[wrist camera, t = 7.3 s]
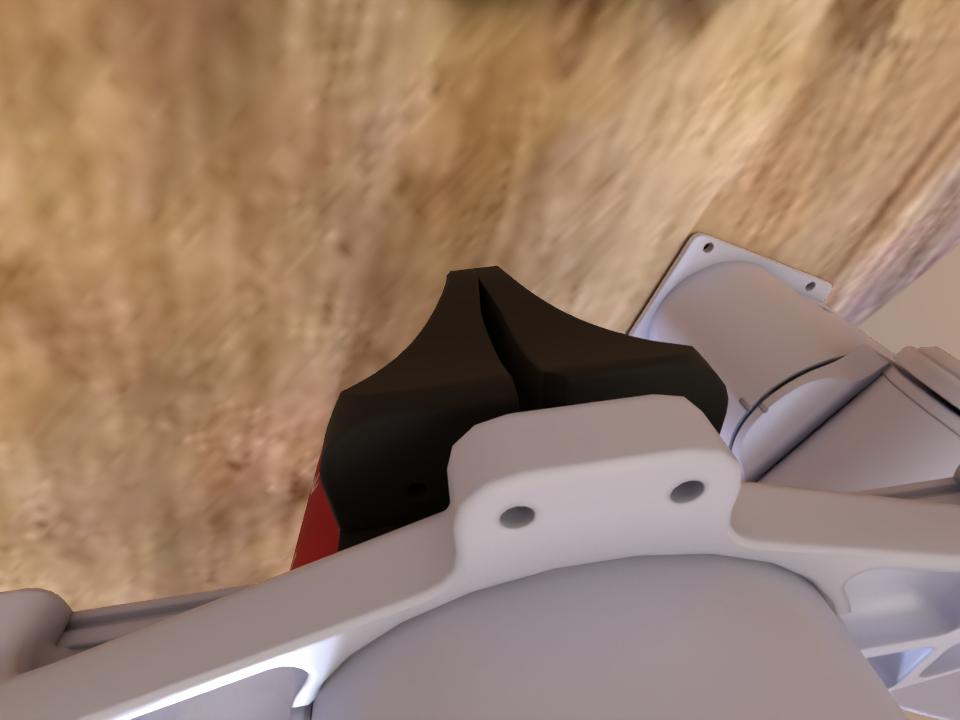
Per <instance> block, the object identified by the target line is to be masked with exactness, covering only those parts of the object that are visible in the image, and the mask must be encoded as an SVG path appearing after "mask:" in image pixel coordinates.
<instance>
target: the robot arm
mask: <svg viewBox="0 0 960 720" xmlns="http://www.w3.org/2000/svg"><path fill="white" fill-rule="evenodd" d="M708 243H710V244H709V247H708V248H707V249H704V250H703V248H704V246H705V245H706V244H708ZM809 283H810V284H809ZM808 284H809V285H808ZM807 285H808V286H807ZM806 286H807V287H806ZM831 290H832V285H831V284H830V283H829V282H827V281H825V280H823V279H820V278H818V277H815V276H813V275H810V274H807V273H805V272H802V271H800V270H797V269H795V268H792V267H789V266H787V265H784V264H782V263H779V262H777V261H774V260H771V259H769V258H766V257H764V256H761V255H759V254H756V253H753V252H751V251H748V250H746V249H743V248H741V247H738V246H735V245H733V244H730V243H728V242H725V241H723V240H720V239H717V238H715V237H712V236H710V235H707V234H705V233H700V232H699V233H696V234H694V235H692V236H691V237H690V239H689V240H688V242H687V243H686V245H685V246H684V248H683V249H682V251H681V252H680V254H679V256H678V257H677V259H676V260H675V262H674V263H673V265H672V267H671V268H670V270H669V271H668V273H667V274H666V276H665V277H664V279H663V281H662V282H661V284H660V285H659V287H658V288H657V290H656V292H655V293H654V295H653V296H652V298H651V299H650V301H649V302H648V304H647V306H646V307H645V309H644V310H643V312H642V313H641V315H640V317H639V318H638V320H637V321H636V323H635V324H634V326H633V327H632V329H631V331H630V332H629V334H628V335H625V334H621V333H618V332H614V331H611V330H608V329H605V328H602V327H599V326H596V325H593V324H590V323H588V322H585V321H582V320H580V319H578V318H576V317H574V316H572V315H569V314H567V313H565V312H563V311H561V310H559V309H557V308H556V307H554V306H552V305H550V304H549V303H547V302H545V301H544V300H542V299H541V298H539V297H538V296H536V295H535V294H533V293H532V292H530V291H529V290H527V289H526V288H525V287H523V286H522V285H521V284H519V283H518V282H517V281H516V280H514V279H513V278H512V277H510V276H509V275H508V274H507V273H506V272H504V271H503V270H502V269H501V268H499V267H498V266H492V267H483V268H475V269H466V270H457V271H450V272H449V274H448V275H447V279H446V284H445V287H444V290H443V293H442V295H441V297H440V299H439V302H438V304H437V306H436V308H435V310H434V312H433V313H432V315H431V317H430V318H429V320H428V322H427V323H426V325H425V326H424V328H423V329H422V331H421V332H420V333H419V335H418V336H417V337H416V338H415V339H414V341H413V342H412V343H411V344H410V345H409V346H408V347H407V348H406V349H405V350H404V351H403V352H402V353H401V354H400V355H399V356H398V357H397V358H395V359H394V360H393V361H392V362H390V363H389V364H388V365H386V366H385V367H384V368H382V369H381V370H379V371H378V372H376V373H375V374H373V375H372V376H370V377H368V378H367V379H365V380H363V381H361V382H359V383H358V384H356V385H354V386H352V387H350V388H348V389H346V390H344V391H342V392H341V393H340V395H339V398H338V400H337V402H336V405H335V408H334V410H333V413H332V416H331V418H330V421H329V424H328V427H327V430H326V434H325V438H324V443H323V449H322V456H321V462H320V468H319V473H320V478H321V484H322V487H323V490H324V492H325V495H326V497H327V500H328V502H329V505H330V507H331V510H332V512H333V515H334V517H335V520H336V522H337V525H338V528H339V530H340V535H339V544H338V552H337V553H335V554H332V555H330V556H327V557H324V558H322V559H319V560H317V561H314V562H312V563H309V564H306V565H304V566H301V567H299V568H296V569H294V570H291V571H288V572H286V573H283V574H281V575H278V576H276V577H273V578H270V579H268V580H265V581H263V582H260V583H258V584H252V585H245V586H239V587H232V588H226V589H219V590H212V591H206V592H199V593H193V594H186V595H180V596H173V597H167V598H160V599H154V600H147V601H141V602H134V603H128V604H121V605H115V606H108V607H102V608H95V609H89V610H82V611H76V612H73V611H72V610H71V608H70V607H69V606H68V604H67V603H66V602H65V601H64V600H63V599H62V598H61V597H60V596H59V595H57V594H55V593H53V592H51V591H48V590H44V589H39V588H26V589H19V590H13V591H6V592H0V720H909V719H908V718H907V716H906V715H905V713H904V712H903V710H902V709H904V710H907V711H911V712H915V713H919V714H922V715H926V716H929V717H934V718H937V719H942V720H960V361H959V360H958V359H956V358H955V357H953V356H951V355H950V354H948V353H947V352H945V351H944V350H942V349H940V348H939V347H920V348H918V349H916V348H914V347H910V346H909V347H905V348H903V349H902V350H901V351H900V352H899V353H897V354H896V355H895V354H893V353H892V352H891V351H889V350H888V349H886V348H885V347H884V346H882V345H881V344H879V343H878V342H877V341H875V340H874V339H872V338H871V337H869V336H868V335H867V334H865V333H864V332H863V331H861V330H860V329H858V328H857V327H856V326H854V325H853V324H851V323H850V322H849V321H847V320H846V319H844V318H843V317H842V316H840V315H839V314H837V313H836V312H835V311H833V310H832V309H830V308H829V307H828V306H826V305H825V304H823V303H822V302H823V301H824V300H825V298H826V297H827V296H828V295H829V294H830V292H831Z"/></svg>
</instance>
